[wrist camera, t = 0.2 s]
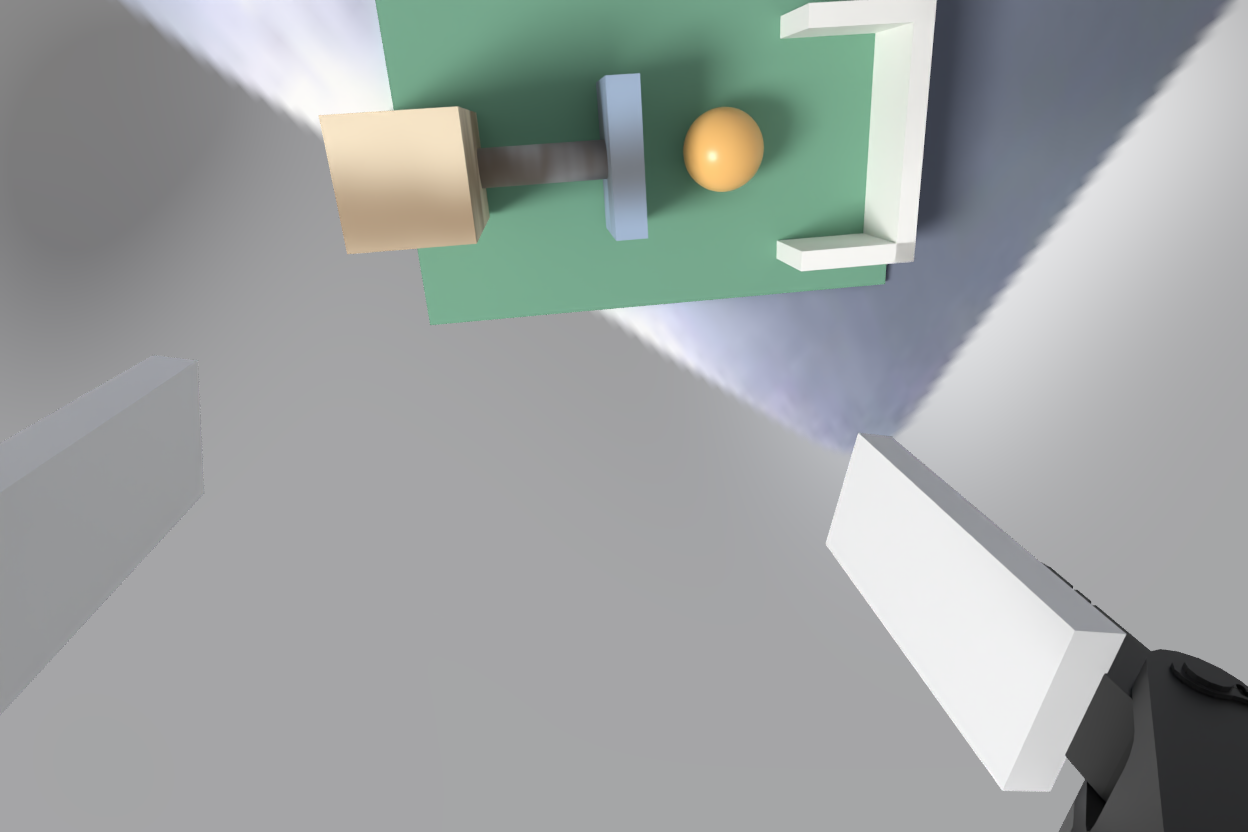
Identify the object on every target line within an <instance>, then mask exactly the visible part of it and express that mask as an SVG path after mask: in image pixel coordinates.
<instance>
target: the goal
mask: <svg viewBox="0 0 1248 832" xmlns="http://www.w3.org/2000/svg"><path fill="white" fill-rule="evenodd" d="M936 2H937V0H854V1H836V2H818V3H808V4H806V5H804V6H802V7H799V8H797V9H795V10H793V11H791V12H789V13H787V14H784V15H782V16H781V20H780V39H785V38H802V37H819V36H836V35H853V34H870V33H875V49H874V66H873V82H872V98H871V115H870V131H869V148H868V164H867V180H866V197H865V213H864V229H863V233H860V234H848V235H836V236H824V237H812V238H800V239H788V240H777V259H778V260H780V261H782V262H784V263H786V264H788V265H790V266H792V267H794V268H796V269H798V270H799V271H811V270H823V269H834V268H845V267H857V266H868V265H880V264H891V263H902V262H914V252H915V240H916V229H917V218H918V206H919V195H920V184H921V172H922V161H923V150H924V138H925V127H926V116H927V104H928V93H929V82H930V70H931V59H932V48H933V36H934V25H935V14H936Z"/></svg>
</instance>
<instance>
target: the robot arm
mask: <svg viewBox="0 0 1248 832" xmlns="http://www.w3.org/2000/svg"><path fill="white" fill-rule="evenodd" d="M203 494H204V479H203V458H202V436H201V415H200V394H199V374H198V360H193V359H184V358H175V357H165V356H157V355H152V356H150V357H148V358H147V359H145V360H143V361H141V362H140V363H138V364H136V365H134V366H133V367H131V368H129V369H127V370H126V371H124V372H122V373H120V374H119V375H117V376H115V377H114V378H112V379H110V380H108V381H107V382H105V383H103V384H101V385H100V386H98V387H96V388H95V389H93V390H91V391H89V392H88V393H86V394H84V395H82V396H81V397H79V398H77V399H76V400H74V401H72V402H70V403H69V404H67V405H65V406H63V407H62V408H60V409H58V410H56V411H55V412H53V413H51V414H49V415H48V416H46V417H44V418H43V419H41V420H39V421H37V422H36V423H34V424H32V425H31V426H29V427H27V428H25V429H24V430H22V431H20V432H18V433H17V434H15V435H13V436H11V437H10V438H8V439H6V440H4V441H3V442H1V443H0V715H1V714H2V713H3V712H4V711H5V710H6V709H7V707H8V706H9V705H10V704H11V703H12V702H13V701H14V700H15V699H16V697H17V696H18V695H19V694H20V693H21V692H22V691H23V690H24V689H25V688H26V687H27V685H29V683H30V682H31V681H32V680H33V679H34V678H35V677H36V676H37V675H38V674H39V673H40V672H41V670H42V669H43V668H44V667H45V666H46V665H47V664H48V663H49V662H50V660H52V658H53V657H54V656H55V655H56V654H57V653H58V652H59V651H60V650H61V649H62V647H63V646H64V645H65V644H66V643H67V642H68V641H69V640H70V639H71V638H72V636H74V634H75V633H76V632H77V631H78V630H79V629H80V628H81V627H82V626H83V625H84V624H85V623H86V621H87V620H88V619H89V618H90V617H91V616H92V615H93V614H94V613H95V612H96V610H97V609H98V608H99V607H100V606H101V605H102V604H103V603H104V602H105V601H106V600H107V599H108V597H109V596H110V595H111V594H112V593H113V592H114V591H115V590H116V589H117V588H118V587H119V585H120V584H121V583H122V582H123V581H124V580H125V579H126V578H127V577H128V576H129V575H130V574H131V572H132V571H133V570H134V569H135V568H136V567H137V566H138V565H139V564H140V563H141V562H142V560H143V559H144V558H145V557H146V556H147V555H148V554H149V553H150V552H151V551H152V550H153V549H154V547H155V546H156V545H157V544H158V543H159V542H160V541H161V540H162V539H163V538H164V537H165V535H166V534H167V533H168V532H169V531H170V530H171V529H172V528H173V527H174V526H175V525H176V523H177V522H178V521H179V520H180V519H181V518H182V517H183V516H184V515H185V514H186V513H187V511H188V510H189V509H190V508H191V507H192V506H193V505H194V504H195V503H196V502H197V501H198V499H199V498H200V497H201V496H202V495H203ZM826 545H827V547H828V548H829V549H830V551H831V552H832V554H833V555H834V556H835V558H836V559H837V561H838V562H839V563H840V565H841V566H842V568H843V569H844V570H845V572H846V573H847V575H848V576H849V577H850V579H851V580H852V581H853V583H854V584H855V586H856V587H857V588H858V590H859V591H860V593H861V594H862V595H863V597H864V598H865V600H866V601H867V602H868V604H869V605H870V607H871V608H872V609H873V611H874V612H875V614H876V615H877V616H878V618H879V619H880V620H881V622H882V623H883V624H884V626H885V628H886V629H887V630H888V632H889V633H890V634H891V636H892V637H893V639H894V640H895V641H896V643H897V644H898V646H899V647H900V648H901V650H902V651H903V653H904V654H905V655H906V657H907V658H908V659H909V661H910V662H911V664H912V665H913V667H914V668H915V669H916V671H917V672H918V673H919V675H920V676H921V678H922V679H923V681H924V682H925V683H926V685H927V686H928V688H929V689H930V690H931V692H932V693H933V694H934V696H935V697H936V699H937V700H938V701H939V703H940V704H941V706H942V707H943V708H944V710H945V711H946V713H947V714H948V715H949V717H950V718H951V720H952V721H953V722H954V724H955V725H956V727H957V728H958V729H959V731H960V732H961V734H962V735H963V736H964V738H965V739H966V740H967V742H968V743H969V744H970V746H971V747H972V749H973V750H974V752H975V753H976V754H977V756H978V757H979V759H980V760H981V761H982V763H983V764H984V766H985V767H986V768H987V770H988V771H989V773H990V774H991V775H992V777H993V778H994V780H995V781H996V782H997V784H998V785H999V787H1000V788H1001V789H1002V791H1044V792H1046V791H1047V792H1050V791H1051V788H1052V786H1053V784H1054V782H1055V780H1056V778H1057V776H1058V774H1059V772H1060V770H1061V768H1062V766H1063V764H1064V762H1065V760H1066V758H1068V759H1069V760H1070V762H1071V763H1072V764H1073V765H1074V766H1075V768H1076V769H1077V770H1078V771H1079V772H1080V773H1081V774H1082V776H1083V777H1084V778H1085V781H1084V783H1083V785H1082V787H1081V789H1080V791H1079V793H1078V795H1077V797H1076V799H1075V801H1074V803H1073V805H1072V807H1071V809H1070V810H1069V813H1068V814H1067V816H1066V819H1065V820H1064V822H1063V824H1062V826H1061V828H1060V830H1059V832H1248V686H1246V685H1245V684H1244V683H1243V682H1241V681H1240V680H1238V679H1237V678H1235V677H1234V676H1232V675H1230V674H1228V673H1227V672H1225V671H1224V670H1222V669H1221V668H1218V667H1216V666H1214V665H1212V664H1210V663H1208V662H1205V661H1203V660H1201V659H1199V658H1196V657H1193V656H1190V655H1186V654H1184V653H1181V652H1177V651H1170V650H1162V649H1160V650H1155V651H1150V650H1149V649H1148V648H1146V647H1145V646H1144V645H1143V644H1142V643H1140V642H1139V641H1138V640H1137V639H1136V638H1134V637H1133V636H1132V635H1131V634H1129V633H1128V632H1127V631H1126V630H1125V629H1124V628H1122V627H1121V626H1120V625H1119V624H1117V623H1116V622H1115V621H1114V620H1113V619H1112V618H1110V617H1109V616H1108V615H1107V614H1106V613H1104V612H1103V611H1102V610H1101V609H1100V608H1098V607H1097V606H1096V605H1091V601H1090V600H1089V599H1088V598H1086V597H1085V596H1084V595H1083V594H1082V593H1080V592H1079V591H1078V590H1073V586H1072V585H1071V584H1070V583H1068V582H1067V581H1066V580H1065V579H1063V578H1062V577H1061V576H1060V575H1059V574H1057V573H1056V572H1055V571H1054V570H1053V569H1052V568H1050V567H1048V566H1046V565H1045V564H1043V563H1042V562H1040V561H1039V560H1038V559H1036V558H1035V557H1034V556H1033V555H1032V554H1031V553H1029V552H1028V551H1027V550H1026V549H1025V548H1023V547H1022V546H1021V545H1020V544H1018V543H1017V542H1016V541H1015V540H1014V539H1013V538H1011V537H1010V536H1009V535H1008V534H1007V533H1006V532H1004V531H1003V530H1002V529H1000V528H999V527H998V526H997V525H996V524H994V522H992V521H991V520H990V519H989V518H988V517H986V516H985V515H984V514H983V513H982V512H980V511H979V510H978V509H977V508H976V507H975V506H973V505H972V504H971V503H970V502H968V501H967V500H966V499H965V498H964V497H963V496H961V495H960V494H959V493H958V492H957V491H955V490H954V489H953V488H952V487H951V486H949V485H948V484H947V483H946V482H945V481H944V480H942V479H941V478H940V477H939V476H937V475H936V474H935V473H934V472H933V471H932V470H930V469H929V468H928V467H927V466H925V464H923V463H922V462H921V461H919V459H917V458H916V457H915V456H913V454H911V453H910V452H909V451H908V450H906V449H905V448H904V447H903V446H902V445H901V444H899V443H898V442H897V441H896V440H895V439H894V438H892V437H891V436H882V435H873V434H864V433H858V436H857V439H856V443H855V446H854V449H853V453H852V456H851V459H850V463H849V467H848V470H847V473H846V476H845V480H844V484H843V487H842V490H841V494H840V497H839V500H838V504H837V507H836V511H835V514H834V517H833V521H832V524H831V527H830V531H829V534H828V538H827V541H826Z"/></svg>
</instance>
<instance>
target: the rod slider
mask: <svg viewBox="0 0 1248 832" xmlns="http://www.w3.org/2000/svg"><path fill="white" fill-rule="evenodd" d="M596 91H597V105H598V119H599V133H600V140H589V141H575V142H561V143H546V144H532V145H518V146H503V147H489V148H481V145H480V137H479V130H478V122H477V114H476V112H473V111H470V110H467V109H464V108H461V107H458V106H455V107H440V108H425V109H409V110H394V111H378V112H363V113H347V114H332V115H319V119H320V124H321V129H322V134H323V139H324V143H325V148H326V153H327V158H328V162H329V168H330V172H331V177H332V182H333V187H334V192H335V197H336V202H337V206H338V211H339V216H340V221H341V226H342V231H343V235H344V240H345V245H346V250H347V254H355V253H368V252H380V251H391V250H392V251H393V250H405V249H416V248H429V247H442V246H454V245H466V244H477V242H478V240H479V238H480V236H481V234H482V232H483V230H484V228H485V226H486V224H487V222H488V220H489V218H490V214H489V207H488V199H487V191H486V188H494V187H507V186H521V185H534V184H547V183H561V182H574V181H588V180H601V179H603V189H604V204H605V218H606V228H607V229H608V231H609V232H610V233H611V235H612V236H613V237H614V238H615V240H616V241H622V240H634V239H646V238H648V224H647V204H646V184H645V164H644V143H643V123H642V103H641V83H640V73H635V74H619V75H605V76H604V77H603V78H601V79H600V80H599V81H597V82H596Z"/></svg>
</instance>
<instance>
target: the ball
mask: <svg viewBox="0 0 1248 832" xmlns="http://www.w3.org/2000/svg"><path fill="white" fill-rule="evenodd" d="M763 152H764V142H763V137H762V133H761V131H760V129H759V127H758V125H757V123H756V122H755V121H754V120H753V118H752V117H750V116H749V115H748V114H747V113H745V112H744V111H742V110H740V109H737V108H733V107H717V108H714V109H711V110H709V111H707V112H705V113H703V114H702V115H700V116H699V117H698V118H697V119H696V120H695V121H694V122H693V124H692V125H691V126H690V128H689V130H688V132H687V134H686V137H685V140H684V146H683V157H684V163H685V166H686V169H687V171H688V173H689V174H690V176H691V177H692V178H693V179H694V181H695V182H697V183H698V184H699V185H700V186H702V187H704V188H706V189H708V190H711V191H716V192H727V191H732V190H735V189H737V188H740V187H741V186H743V185H745V184H746V183H747V182H748V181H750V180H751V178H752V177H753V176H754V175H755V174H756V172H757V170H758V169H759V166H760V164H761V161H762V158H763Z"/></svg>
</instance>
